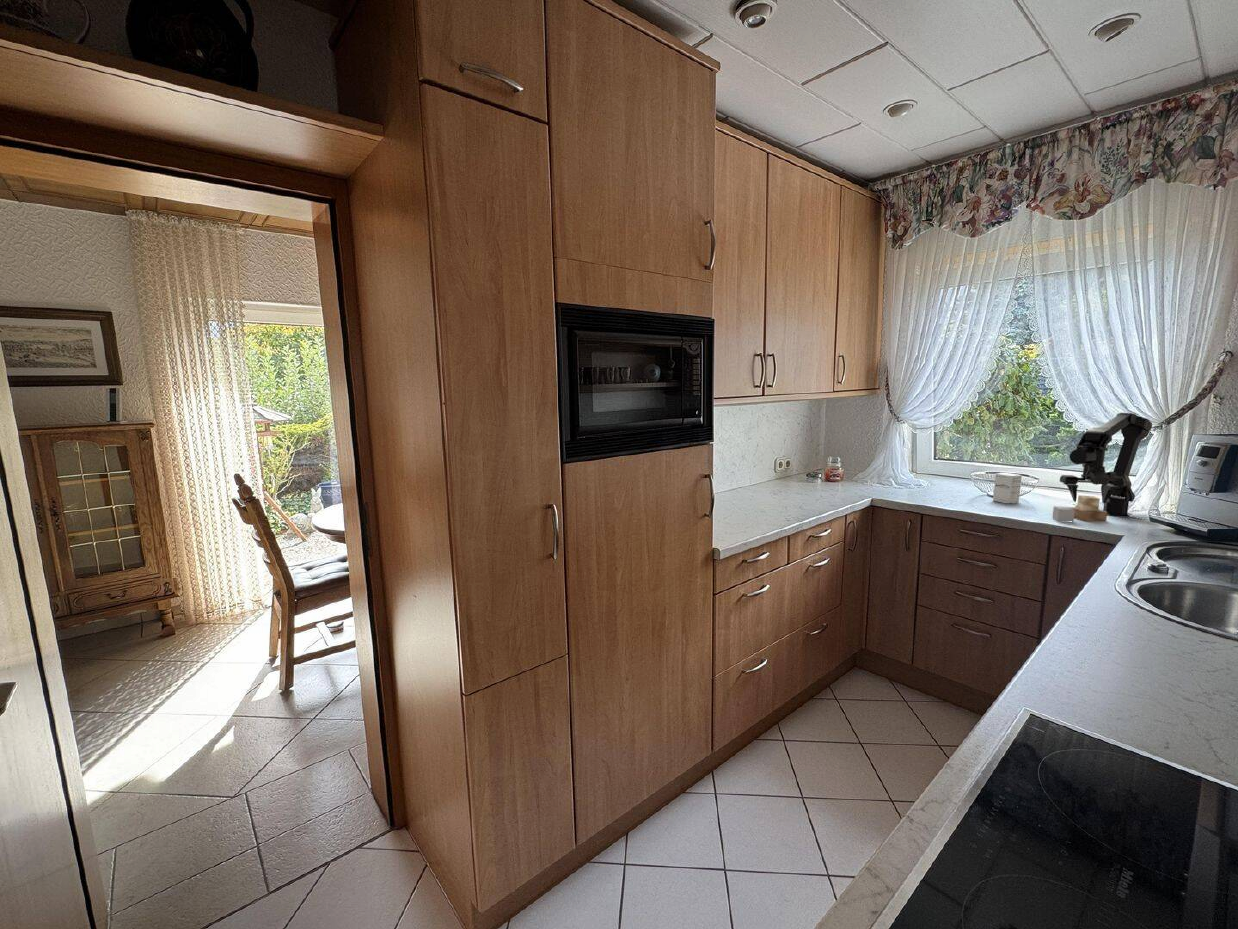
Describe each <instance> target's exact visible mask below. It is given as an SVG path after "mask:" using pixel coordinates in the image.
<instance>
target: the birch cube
mask: <svg viewBox="0 0 1238 929" xmlns="http://www.w3.org/2000/svg"><path fill="white" fill-rule="evenodd" d="M1077 496H1078V497H1077V504H1076V507H1077V508H1079V509H1080V510H1083V511H1098V509H1099V510H1100V501H1101V500H1100V499H1101V498H1099V497H1097V496H1095V495H1084V494H1083V495H1082V494H1081V495H1077Z"/></svg>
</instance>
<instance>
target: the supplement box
mask: <svg viewBox="0 0 1238 929" xmlns="http://www.w3.org/2000/svg"><path fill="white" fill-rule="evenodd" d="M1022 476H1023V475H1022V474H1017V473H1010V472H999V473H998V472H996V473H995V476H994V478H995V479H994V486H993V497H992V502H999V503H1002V504H1003V503H1004V504H1007V503H1013V504H1018V503H1019V502H1020V494H1021V486H1022V478H1023V477H1022Z"/></svg>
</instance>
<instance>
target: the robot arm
mask: <svg viewBox="0 0 1238 929" xmlns="http://www.w3.org/2000/svg"><path fill="white" fill-rule="evenodd" d="M1152 428H1153V422H1151V421H1150V420H1149V419H1148V418H1145V417H1142V416H1139V415H1137V414H1135V413H1132V412H1118V413H1117V414H1116V416H1115V417H1113V418H1111V419H1110V420H1109V421H1106V423H1104V424H1103V425H1101V426H1098V427H1093V428H1090V429H1087V430H1086V431H1085V432H1084V433H1083V435H1082V436H1081V438H1080V440H1079V442H1078V443H1077V445H1076V449H1074V450H1072V451H1071V452H1070V454H1069V459H1070V461H1071V462H1072V463H1073V464H1074V465H1082V466H1081V467H1082V468H1083V470H1082V474H1081V475H1080V477H1078V476H1077V475H1076V476H1075V475H1071V474H1062V475H1060V477H1059V482H1060V483H1062V484H1063V485H1066V488H1068V490H1069V492H1070V495H1071V498H1072V501H1073V503H1076V502H1077V500H1078V497H1077V496H1078V495H1077V494H1078V492H1077V491H1078V487H1079V485H1078V483H1083V484H1084V483H1086V484H1088V483H1089V484H1093V485H1101V487H1100V492H1101V493H1100V494H1101V503H1102V504H1103V509H1102V511H1106V512H1107V516H1118V517H1119V516H1120V517H1130V514H1128V510H1129V504H1130V502H1131V503H1132V502H1133V501H1134V500H1135V497H1136V495H1135V493H1134V491H1133V489H1132V482H1131V479H1130V473H1131V470H1132V466H1133V464H1134V461H1135V458H1136V454H1137V452H1138V450H1139V449H1138V448H1139V446H1140V443H1141V442H1142V441H1143V440H1144V439H1145V438H1147V437H1148V436H1149V433H1150V431H1151V430H1152ZM1119 432H1121V435H1122V438H1123V440H1122V444H1121V447H1120V451H1119V453H1118V455H1117V459H1116V461H1115V462H1116V463H1115V465H1114V469H1113V471H1108V472H1107V471H1106V470H1105V469H1106V468H1105V466H1104V463H1105V462H1104V461H1105V455H1106V454H1105V453H1106V452H1108V451H1109V449H1108V447H1107V446H1108V444H1110V443H1111V442H1112V441H1113V436H1114V435H1115V434H1117V433H1119Z"/></svg>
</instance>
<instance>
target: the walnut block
mask: <svg viewBox="0 0 1238 929" xmlns="http://www.w3.org/2000/svg"><path fill="white" fill-rule="evenodd" d="M1069 507H1070V506H1069ZM1070 508H1072V509H1074V510H1075V512H1074V519H1076V518H1077V519H1076V520H1079V519H1080V521H1083V522H1107V516H1108V514H1107V512H1106V511H1103V509H1100V508H1099V509H1098V511H1083V510H1080V509H1079V508H1077V506H1075V507H1073V506H1071V507H1070Z"/></svg>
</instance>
